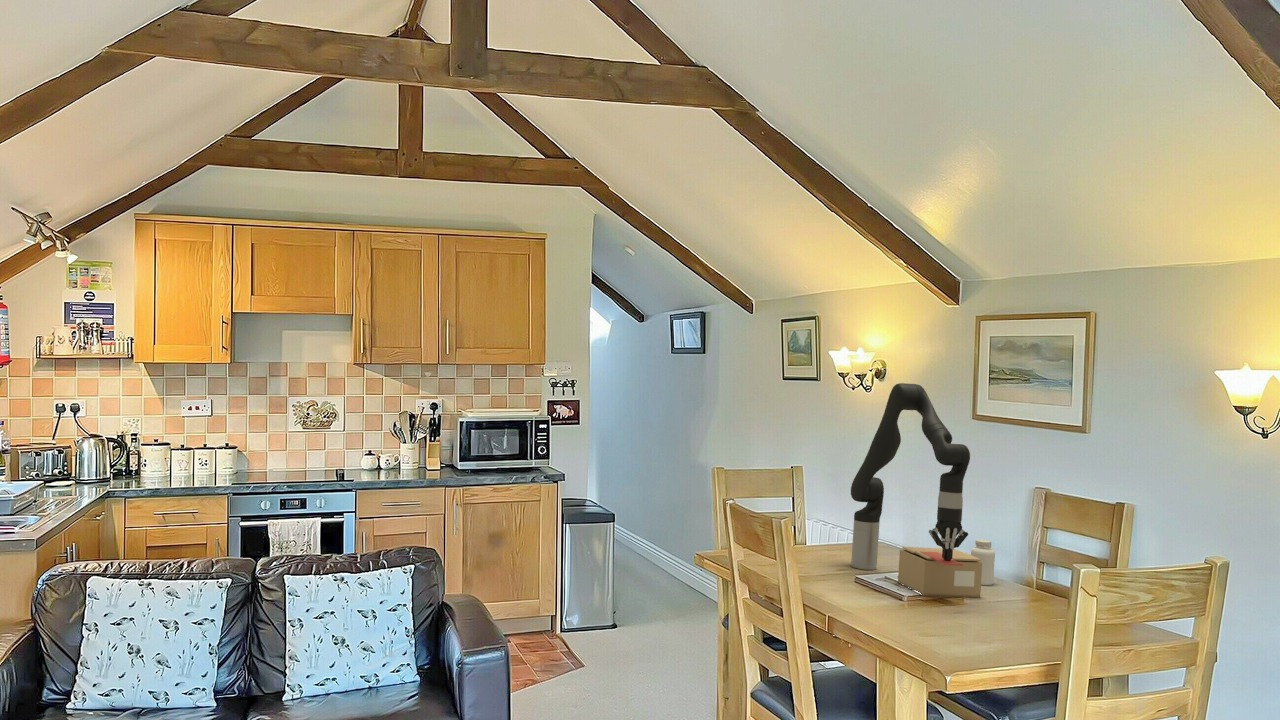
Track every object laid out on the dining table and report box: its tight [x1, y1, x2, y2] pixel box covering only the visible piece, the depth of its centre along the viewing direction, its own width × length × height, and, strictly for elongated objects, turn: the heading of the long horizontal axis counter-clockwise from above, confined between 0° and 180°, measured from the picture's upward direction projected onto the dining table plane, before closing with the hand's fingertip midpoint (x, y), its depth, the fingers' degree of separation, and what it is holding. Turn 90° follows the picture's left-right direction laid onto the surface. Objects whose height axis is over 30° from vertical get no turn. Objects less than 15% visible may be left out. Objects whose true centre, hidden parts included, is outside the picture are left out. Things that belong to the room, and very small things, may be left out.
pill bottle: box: [970, 539, 996, 586], centre depth 342 cm, size 8×8×15 cm
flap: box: [915, 551, 981, 566], centre depth 315 cm, size 19×18×1 cm
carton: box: [897, 546, 982, 599], centre depth 324 cm, size 19×20×12 cm
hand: (946, 560), depth 310 cm, fingers closed
